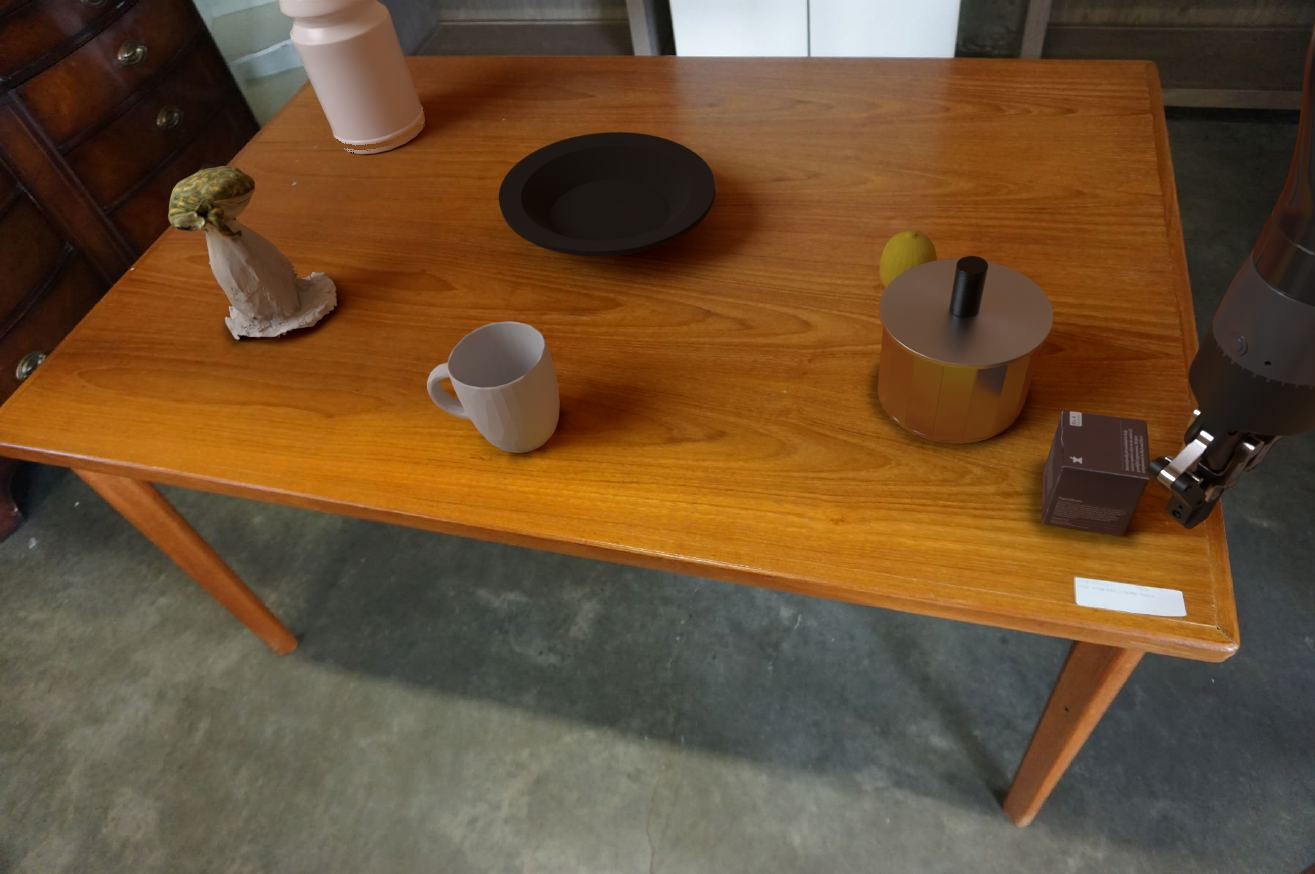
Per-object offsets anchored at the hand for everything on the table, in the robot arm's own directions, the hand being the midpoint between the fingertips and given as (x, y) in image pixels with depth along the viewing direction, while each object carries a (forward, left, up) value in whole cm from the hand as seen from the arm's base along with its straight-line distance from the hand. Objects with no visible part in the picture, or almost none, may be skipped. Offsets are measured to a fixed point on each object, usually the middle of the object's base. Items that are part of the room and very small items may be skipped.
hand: (1184, 516), depth 59 cm
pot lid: (+22, 0, +4) cm, 23 cm away
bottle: (+114, +28, -6) cm, 117 cm away
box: (+7, 0, -6) cm, 9 cm away
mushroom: (+78, +51, -6) cm, 94 cm away
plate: (+67, +12, -6) cm, 69 cm away
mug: (+44, +36, -6) cm, 57 cm away
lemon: (+35, -6, -6) cm, 36 cm away
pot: (+22, 0, -6) cm, 23 cm away
